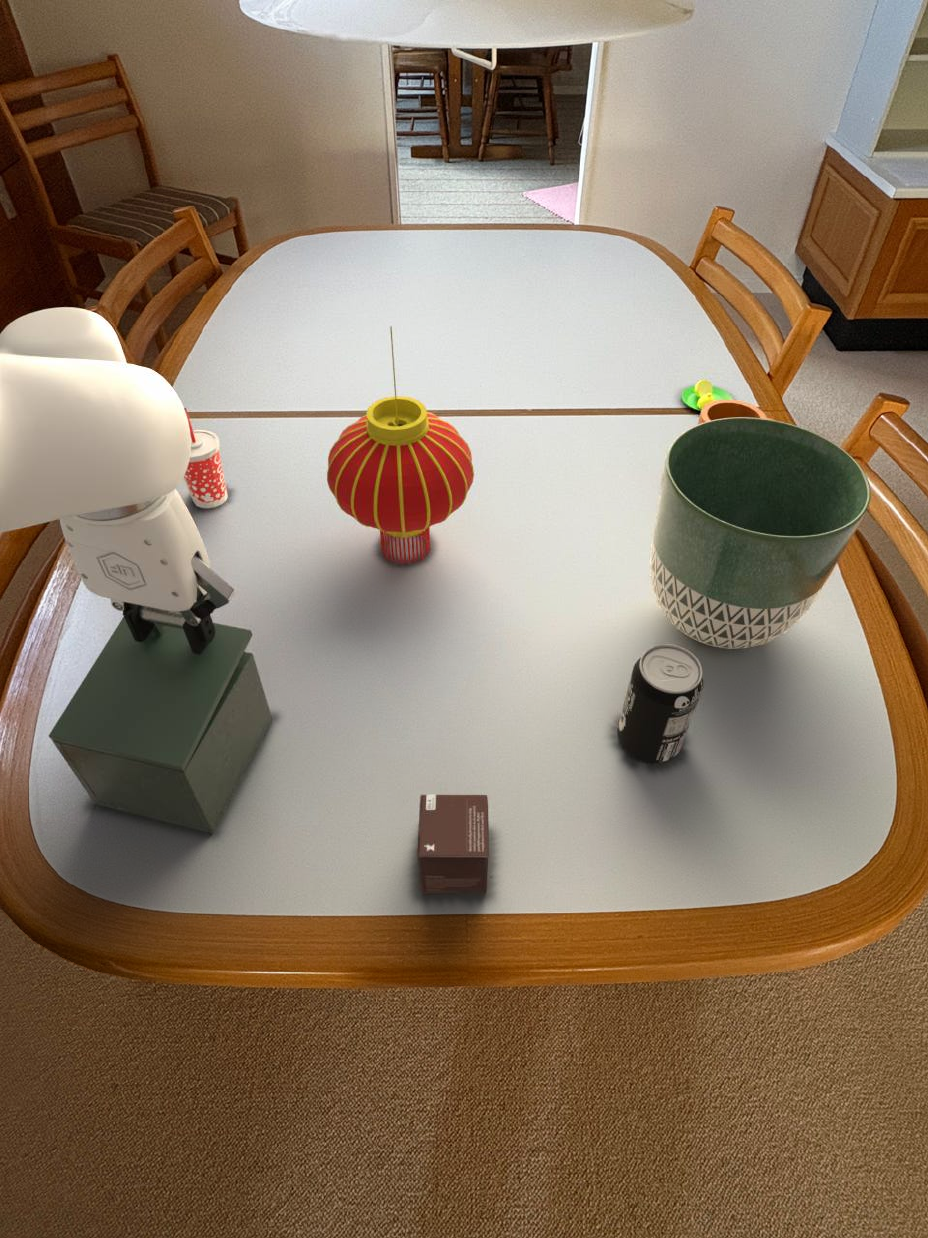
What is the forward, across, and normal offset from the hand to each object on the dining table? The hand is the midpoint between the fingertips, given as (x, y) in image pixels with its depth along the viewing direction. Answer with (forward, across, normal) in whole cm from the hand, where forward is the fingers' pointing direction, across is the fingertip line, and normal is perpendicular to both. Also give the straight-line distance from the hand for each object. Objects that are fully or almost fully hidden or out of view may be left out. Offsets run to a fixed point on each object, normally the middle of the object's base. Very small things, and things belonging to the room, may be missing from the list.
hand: (175, 635), depth 73 cm
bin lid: (+2, 0, -5) cm, 5 cm away
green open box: (+14, 0, -5) cm, 14 cm away
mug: (+14, +52, +58) cm, 79 cm away
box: (+14, +29, -9) cm, 33 cm away
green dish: (+14, +48, +76) cm, 91 cm away
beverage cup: (+14, -17, +34) cm, 40 cm away
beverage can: (+14, +45, +9) cm, 48 cm away
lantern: (+14, +12, +31) cm, 36 cm away
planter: (+14, +51, +28) cm, 60 cm away
